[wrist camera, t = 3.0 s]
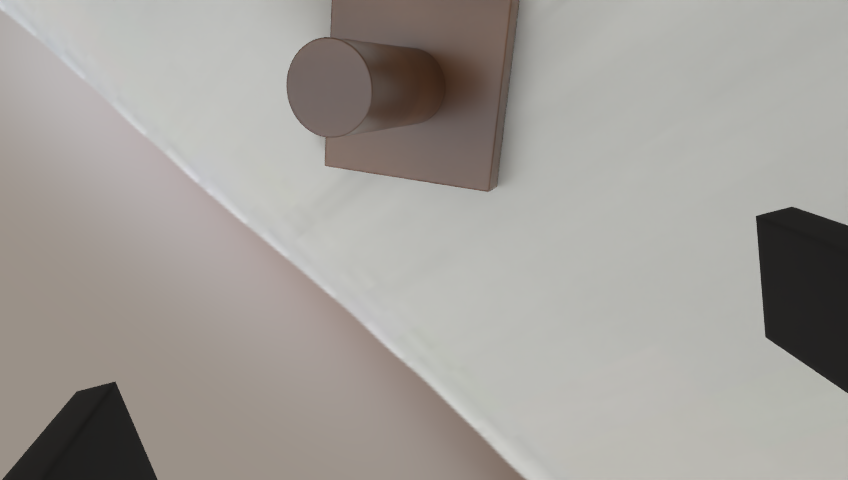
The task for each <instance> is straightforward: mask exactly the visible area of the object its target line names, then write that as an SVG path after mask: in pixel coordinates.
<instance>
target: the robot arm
mask: <svg viewBox="0 0 848 480" xmlns="http://www.w3.org/2000/svg"><path fill="white" fill-rule="evenodd" d="M756 222H757V235H758V247H759V260H760V273H761V285H762V298H763V311H764V323H765V336H766V338H768V339H769V340H771V341H772V342H774V343H775V344H776V345H778V346H779V347H781V348H782V349H784V350H785V351H787V352H788V353H790V354H791V355H793V356H794V357H796V358H797V359H798V360H800V361H801V362H803V363H804V364H806V365H807V366H809V367H810V368H812V369H813V370H815V371H816V372H818V373H819V374H821V375H822V376H823V377H825V378H826V379H828V380H829V381H831V382H832V383H834V384H835V385H837V386H838V387H840V388H841V389H843V390H844V391H845V392H847V393H848V226H847V225H844V224H841V223H838V222H836V221H833V220H830V219H827V218H824V217H821V216H818V215H815V214H812V213H809V212H806V211H803V210H800V209H797V208H794V207H789V208H785V209H782V210H778V211H774V212H770V213H766V214H762V215H758V216H756ZM3 480H157V478H156V475H155V473H154V471H153V468H152V466H151V464H150V461H149V459H148V457H147V454H146V452H145V450H144V447H143V445H142V443H141V441H140V438H139V436H138V433H137V431H136V429H135V426H134V424H133V422H132V419H131V417H130V415H129V412H128V410H127V408H126V405H125V403H124V401H123V398H122V396H121V394H120V391H119V389H118V387H117V384H116V382H112V383H109V384H104V385H101V386H97V387H93V388H89V389H85V390H81V391H78V392H76V393H75V394H74V395H73V397H72V398H71V399H70V400H69V401H68V403H67V404H66V405H65V406H64V407H63V408H62V410H61V411H60V412H59V413H58V414H57V415H56V417H55V418H54V419H53V420H52V421H51V423H50V424H49V425H48V426H47V427H46V429H45V430H44V431H43V432H42V433H41V434H40V436H39V437H38V438H37V439H36V440H35V442H34V443H33V444H32V445H31V446H30V447H29V449H28V450H27V451H26V452H25V453H24V455H23V456H22V457H21V458H20V459H19V461H18V462H17V463H16V464H15V465H14V466H13V468H12V469H11V470H10V471H9V472H8V473H7V475H6V476H5V477H4V478H3Z"/></svg>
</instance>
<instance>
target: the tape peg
mask: <svg viewBox="0 0 848 480" xmlns="http://www.w3.org/2000/svg"><path fill="white" fill-rule="evenodd" d="M518 7H519V0H332V12H331V34H330V37H324V38H319V39H315V40H313V41H311V42H309V43H308V44H306V45H305V46H304V47H302V48H301V49H300V50H299V52H298V53H297V54H296V55H295V57H294V59H293V60H292V63H291V65H290V68H289V71H288V76H287V95H288V100H289V103H290V106H291V109H292V111H293V113H294V114H295V116H296V117H297V119H298V120H299V121H300V123H301V124H302V125H303V126H304V127H305V128H307V129H308V130H309V131H311V132H313V133H315V134H317V135H319V136H323V137H326V147H325V166H329V167H336V168H342V169H348V170H354V171H361V172H367V173H373V174H380V175H386V176H392V177H399V178H405V179H411V180H417V181H424V182H430V183H436V184H443V185H449V186H455V187H461V188H468V189H474V190H480V191H487V192H489V191H491V190H492V189H494V188H496V187H497V180H498V171H499V163H500V155H501V147H502V139H503V130H504V122H505V114H506V106H507V98H508V89H509V81H510V73H511V65H512V56H513V48H514V40H515V32H516V24H517V15H518Z"/></svg>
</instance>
